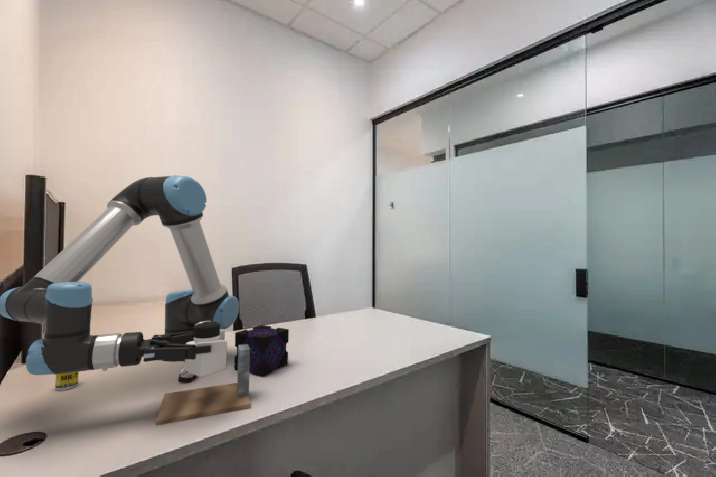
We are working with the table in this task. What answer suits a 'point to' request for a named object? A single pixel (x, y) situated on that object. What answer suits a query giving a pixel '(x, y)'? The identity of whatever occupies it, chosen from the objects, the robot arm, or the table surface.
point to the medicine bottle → (206, 362)
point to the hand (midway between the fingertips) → (225, 340)
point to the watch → (185, 380)
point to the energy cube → (264, 349)
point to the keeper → (209, 396)
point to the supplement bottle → (66, 380)
